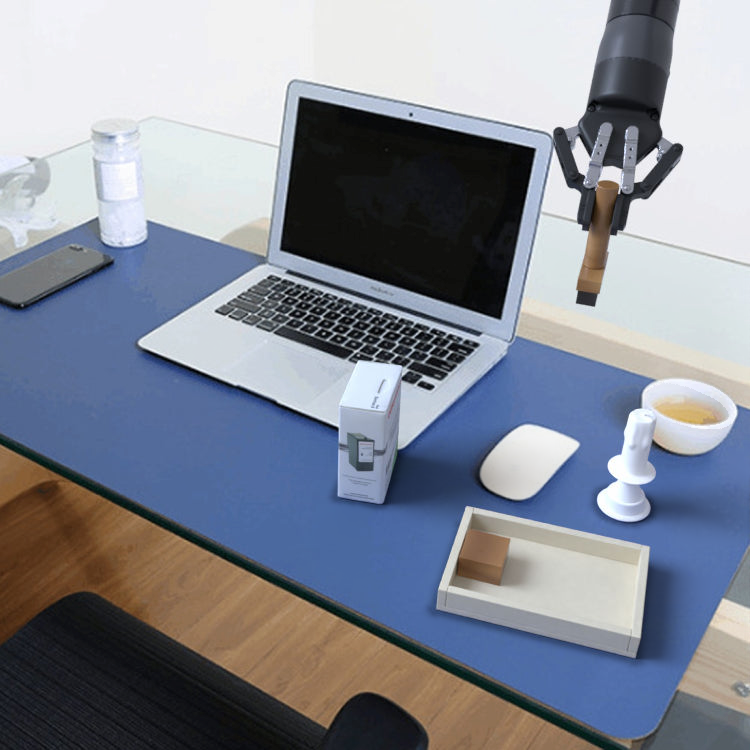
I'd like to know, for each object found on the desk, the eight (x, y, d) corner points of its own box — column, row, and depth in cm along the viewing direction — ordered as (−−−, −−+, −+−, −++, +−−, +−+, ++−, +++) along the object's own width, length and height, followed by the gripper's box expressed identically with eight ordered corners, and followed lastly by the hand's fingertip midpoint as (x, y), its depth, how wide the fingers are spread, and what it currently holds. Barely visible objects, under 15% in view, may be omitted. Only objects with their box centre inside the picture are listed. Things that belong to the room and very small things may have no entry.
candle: (661, 513, 101) (685, 418, 95) (619, 528, 99) (641, 433, 92) (627, 482, 105) (648, 388, 98) (586, 496, 103) (605, 402, 96)
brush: (604, 276, 109) (624, 172, 102) (596, 308, 103) (617, 200, 96) (582, 272, 109) (600, 169, 103) (573, 303, 104) (592, 196, 97)
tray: (645, 566, 95) (650, 546, 94) (635, 658, 86) (640, 638, 84) (464, 525, 99) (466, 505, 98) (436, 609, 90) (438, 589, 88)
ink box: (354, 446, 109) (357, 355, 102) (399, 454, 108) (404, 362, 101) (335, 498, 102) (336, 403, 95) (383, 506, 101) (388, 411, 94)
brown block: (508, 556, 95) (510, 538, 93) (499, 586, 92) (502, 567, 90) (466, 546, 96) (468, 528, 94) (456, 575, 92) (458, 556, 91)
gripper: (564, 45, 101) (530, 206, 98) (705, 62, 98) (674, 228, 95) (563, 82, 108) (531, 232, 105) (695, 98, 105) (666, 254, 102)
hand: (599, 230), depth 100 cm, fingers closed on brush, 2 cm apart
